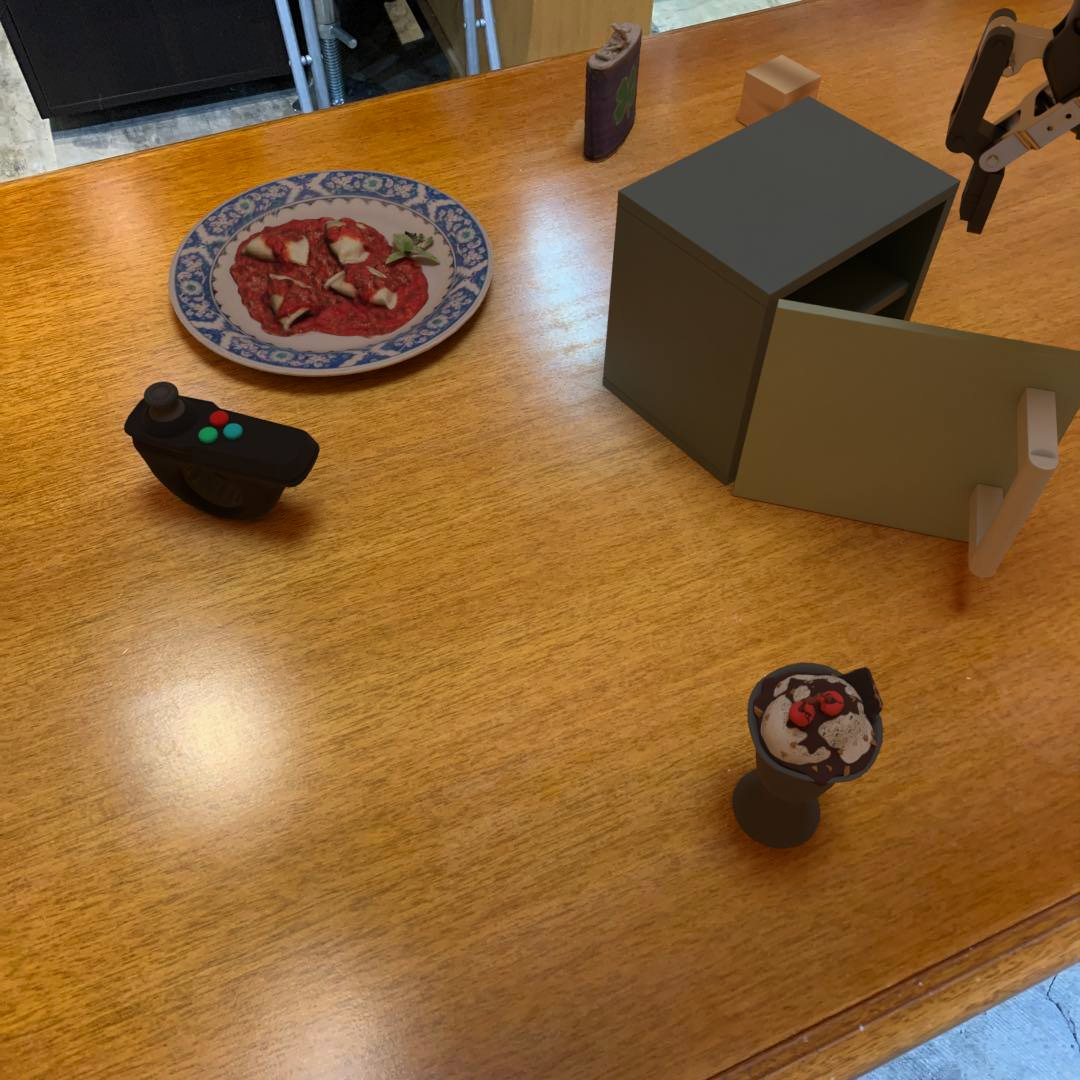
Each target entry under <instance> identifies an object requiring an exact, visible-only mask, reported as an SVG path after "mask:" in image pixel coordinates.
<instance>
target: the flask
mask: <svg viewBox="0 0 1080 1080" xmlns="http://www.w3.org/2000/svg"><path fill="white" fill-rule="evenodd" d="M608 26H609V27H611V28H613V30H614V31H613V32H612V34H611V35H610V37H609V39H608V41H607V43H605V45H604V46H603V47H602V48H600V50H596V51H595V53H594V54H591V55H590V56H589V58H587V61H586V66H585V85H584V86H585V88H584V89H585V92H584V93H585V94H584V98H585V99H584V102H585V103H584V104H585V105H584V120H583V121H584V128H583V150H582V156H583V158H584V160H585V161H589V162H592V163H600V162H602V161H606V160H607V159H609V158H610V157H611V156H613V155H614V153H616V152H617V151H618V149H620V148H621V147H622V145H623V143H625V141H626V139H627V138H628V136H629V133H630V132H631V130H632V129H633V126H634V124H635V120H636V111H637V110H636V105H637V97H638V81H639V69H640V63H641V62H640V60H641V59H640V57H641V56H640V55H641V48H642V36H643V29H642V27H641V25H638V24H637V23H632V22H621V23H620V24H618V22H616V21H615V22H613V23H609V25H608Z"/></svg>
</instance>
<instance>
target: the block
mask: <svg viewBox="0 0 1080 1080" xmlns="http://www.w3.org/2000/svg"><path fill="white" fill-rule="evenodd" d="M821 81H822V75H821V74H819V73H817V72H816V71H813V70H811V69H809V68H807V66H804V65H802V64H800V63H798V62H797V61H794V60H793V59H791V58H789V57H788V56H785V55H784V54H780V55H778V56H776V57H774V58H771V59H769V60H768V61H765V62H763V63H761V64H759V65H756V66H754V67H753V68H750V69H748V70H746V71H745V74H744V80H743V87H742V92H741V98H740V104H739V109H738V115H737V122H739V123H741V124H742V125H744V126H745V127H747V126H749V125H751V124H753V123H755V122H757V121H759V120H761V119H763V118H765V117H767V116H769V115H771V114H773V113H775V112H777V111H779V110H781V109H783V108H785V107H787V106H789V105H791V104H793V103H795V102H797V101H799V100H801V99H803V98H805V97H807V96H810V97H812V98H814V99H815V100H818V99H817V98H818V94H819V89H820V87H821Z"/></svg>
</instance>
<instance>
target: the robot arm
mask: <svg viewBox="0 0 1080 1080" xmlns="http://www.w3.org/2000/svg"><path fill="white" fill-rule="evenodd" d="M1037 59H1038V60H1039V59H1040V60H1041V62H1042V63H1041V64H1042V68H1043V71H1044V73H1045V77H1046V80H1045V81H1044V82H1042V83H1041V84H1039V85H1038V86H1037V87H1035V88H1034V89H1032V90H1031V91H1029V92H1028V93H1027V94H1026V95H1025V96H1024V97H1023V98H1022V99H1021V101H1020V102H1019V104H1017V105H1016V106H1015V107H1013V108H1012V109H1011V110H1009V111H1008V112H1006V113H1005V114H1003V115H1002V116H1001V117H999V118H998V119H996V120H995V121H993V122H990V121H989V120H987V119H985V118H984V117H985V114H986V112H987V110H988V108H989V105H990V103H991V101H992V98H993V96H994V94H995V91H996V89H997V87H998V84H999V82H1000V80H1001V78H1002V77H1004V78H1010V77H1014V76H1015V75H1017V74H1018V73H1020V71H1021V70H1022V69H1023V67H1024V66H1025V64H1027V63H1028V62H1031V61H1033V60H1037ZM1069 131H1070V133H1072V134H1075V140H1076V141H1080V0H1073V2H1072V4H1071V7H1070V8H1069V10H1068V12H1067V13H1066V15H1065V16H1064V17H1063V18H1062V20H1061V21H1059V22H1058V23H1057V24H1056V25H1055V26H1054V27H1053V28H1052V29H1050V28H1046V27H1041V26H1036V25H1033V24H1032V25H1031V24H1027V23H1023V22H1018V17H1017V14H1016V12H1015V11H1014V10H1013V9H1011V8H1007V7H1002V8H998V9H996V10H995V11H993V12H992V14H991V15H990V16H989V18H988V21H987V23H986V26H985V28H984V30H983V33H982V35H981V38H980V40H979V43H978V45H977V48H976V50H975V52H974V55H973V58H972V59H971V62H970V65H969V67H968V70H967V72H966V74H965V77H964V80H963V82H962V85H961V87H960V90H959V92H958V94H957V97H956V99H955V102H954V105H953V107H952V109H951V112H950V114H949V120H948V126H947V129H946V136H945V142H944V143H945V147H946V149H947V150H948V151H949V152H951V153H953V154H966V155H967V156H968V157H969V158H971V160H972V161H973V163H972V166H971V168H970V171H969V173H968V177H967V179H966V182H965V184H964V188H963V190H962V193H961V197H960V204H959V210H958V213H959V220H960V221H964V222H967V224H966V230H965V231H966V233H969V234H974V235H980V236H981V235H982V234H983V233H982V232H983V230H984V228H985V226H986V223H987V221H988V218H989V216H990V213H991V210H992V208H993V205H994V203H995V200H996V197H997V195H998V193H999V191H1000V188H1001V185H1002V183H1003V180H1004V178H1005V174H1006V166H1008V165H1010V164H1012V163H1013V162H1014V161H1016V160H1017V159H1019V158H1021V157H1022V156H1023V155H1025V154H1027V153H1028V152H1030V151H1032V150H1033V151H1039V150H1041V149H1042V148H1044V147H1046V146H1048V145H1049V144H1050V143H1052V142H1053V141H1055V140H1057V139H1058V138H1059V137H1061V136H1062V135H1065V134H1066V133H1068V132H1069Z"/></svg>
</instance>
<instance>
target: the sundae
mask: <svg viewBox="0 0 1080 1080" xmlns="http://www.w3.org/2000/svg"><path fill="white" fill-rule="evenodd" d="M883 709H884V703H883V699H882V696H881V693H880V691H879V688H878V686H877V684H876V681H875V680H874V678H873V674H872V672H871V669H870V668H869V667H868V666H862V667H859V668H856V669H854V670H850V671H848V672H846V673H842V672H841V671H839V670H838V669H835V668H833V667H831V666H829V665H825V664H821V663H817V662H806V661H805V662H803V661H802V662H797V663H791V664H787V665H785V666H784V665H783V666H781V667H779V668H777V669H775V670H773V671H771V672H769V673H768V674H766V675H765V676H763V677H761V679H760V680H759V681H758V682H756V684H755V686H754V687H753V689H752V690H751V693H750V695H749V697H748V702H747V711H746V712H747V713H746V714H747V725H748V730H749V735H750V737H751V740H752V744H753V746H754V749H755V765H756V766H755V767H756V768H753V769H751V770H750V771H748V772H747V773H745V774H744V775H743V776H741V778H739V780H738V782H737V783H736V785H735V788H734V789H733V792H732V801H731V802H732V803H731V805H732V810H733V811H732V812H733V815H734V817H735V819H736V821H737V824H738V825H739V827H740V828H741V829H742V830H743V832H745V834H746V835H747V836H748V837H750V838H751V839H752V840H754V841H755V842H757V843H759V844H761V845H763V846H765V847H768V848H774V849H782V850H785V849H790V848H791V849H792V848H795V847H799V846H801V845H803V844H804V843H806V842H807V841H808V840H810V839H811V838H812V837H814V835H815V834H816V833H815V832H816V831H817V829H818V827H819V824H820V822H821V804H820V802H819V799H818V798H820V797H821V796H822V795H823V794H825V793H826V792H827V791H829V790H830V789H831V788H832V787H833V786H834V785H836V784H839V783H847V782H853V781H855V780H857V779H859V778H861V777H862V776H864V775H865V774H866V773H868V771H870V769H871V768H872V766H874V764H875V762H876V760H877V758H878V756H879V755H880V751H881V748H882V746H883V743H884V726H883V725H884V724H883V718H882V716H881V712H882V711H883Z"/></svg>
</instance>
